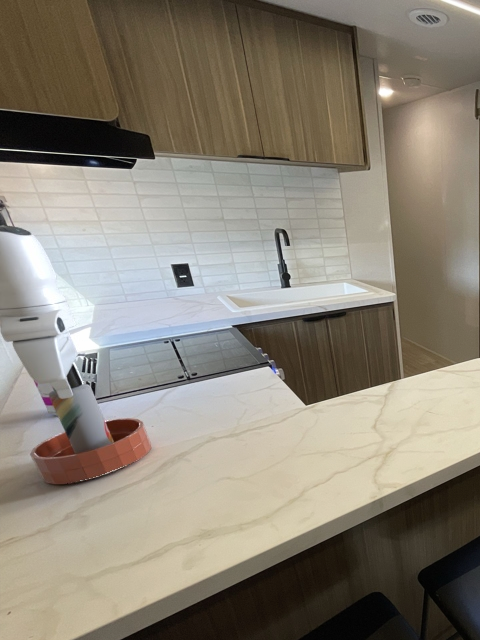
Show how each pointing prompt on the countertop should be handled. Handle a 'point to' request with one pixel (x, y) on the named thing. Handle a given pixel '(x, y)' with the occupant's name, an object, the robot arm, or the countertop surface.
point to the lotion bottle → (81, 416)
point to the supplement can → (44, 392)
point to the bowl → (91, 453)
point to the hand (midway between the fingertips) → (69, 391)
